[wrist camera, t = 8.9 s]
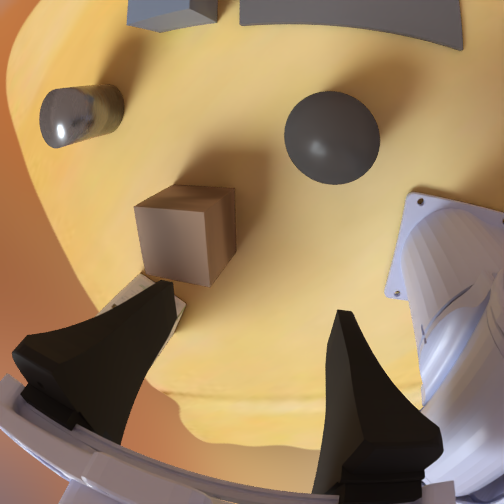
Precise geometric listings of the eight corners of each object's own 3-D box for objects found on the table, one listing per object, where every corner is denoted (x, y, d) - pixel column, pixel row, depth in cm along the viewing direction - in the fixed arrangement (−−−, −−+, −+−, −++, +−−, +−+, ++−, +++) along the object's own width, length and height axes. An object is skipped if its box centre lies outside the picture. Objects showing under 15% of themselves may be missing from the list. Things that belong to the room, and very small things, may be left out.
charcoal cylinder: (373, 99, 15) (382, 97, 11) (368, 171, 17) (374, 190, 13) (299, 92, 16) (285, 88, 12) (296, 163, 18) (283, 179, 15)
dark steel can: (123, 80, 19) (71, 82, 14) (125, 132, 21) (75, 145, 16) (87, 89, 20) (38, 96, 15) (90, 136, 22) (42, 150, 17)
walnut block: (234, 188, 21) (203, 212, 16) (236, 251, 23) (210, 287, 19) (173, 184, 22) (133, 206, 18) (179, 243, 24) (146, 274, 20)
